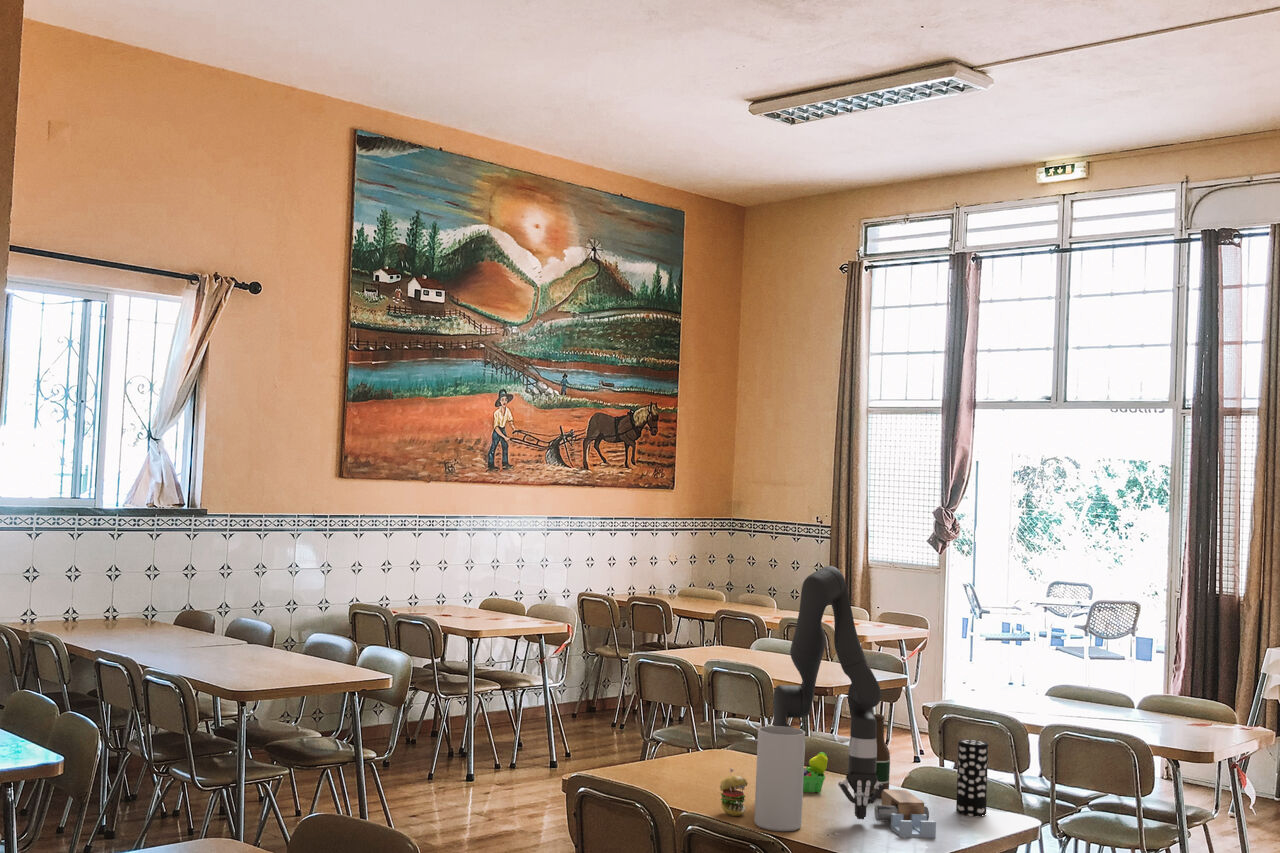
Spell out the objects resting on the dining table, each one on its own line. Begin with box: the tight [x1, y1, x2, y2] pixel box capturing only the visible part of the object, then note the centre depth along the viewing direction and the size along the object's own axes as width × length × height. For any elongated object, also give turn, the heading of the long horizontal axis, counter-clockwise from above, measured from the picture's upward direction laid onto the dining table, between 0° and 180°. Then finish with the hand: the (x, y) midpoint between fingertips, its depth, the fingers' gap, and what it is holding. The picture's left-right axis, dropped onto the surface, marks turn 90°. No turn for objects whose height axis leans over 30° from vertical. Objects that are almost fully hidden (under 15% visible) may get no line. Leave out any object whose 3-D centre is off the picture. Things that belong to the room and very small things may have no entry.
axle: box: [874, 804, 930, 822], centre depth 315 cm, size 14×4×4 cm, turn 97°
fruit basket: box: [803, 751, 829, 794], centre depth 352 cm, size 11×9×11 cm
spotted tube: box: [955, 738, 989, 817], centre depth 333 cm, size 8×8×20 cm
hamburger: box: [719, 768, 748, 817], centre depth 318 cm, size 8×7×12 cm
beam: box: [880, 788, 925, 820], centre depth 319 cm, size 7×14×7 cm, turn 7°
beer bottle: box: [869, 713, 891, 799], centre depth 349 cm, size 8×8×24 cm
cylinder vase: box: [753, 725, 806, 832], centre depth 308 cm, size 12×12×25 cm
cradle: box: [890, 813, 937, 838], centre depth 307 cm, size 10×8×4 cm
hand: (860, 818), depth 314 cm, fingers closed
